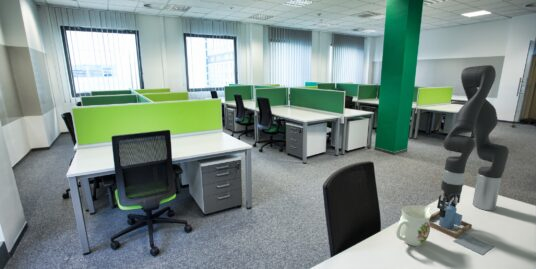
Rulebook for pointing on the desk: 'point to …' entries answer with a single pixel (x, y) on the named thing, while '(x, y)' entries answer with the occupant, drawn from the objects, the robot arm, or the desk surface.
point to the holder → (448, 232)
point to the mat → (473, 244)
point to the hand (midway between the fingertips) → (446, 214)
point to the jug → (450, 218)
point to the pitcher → (414, 225)
